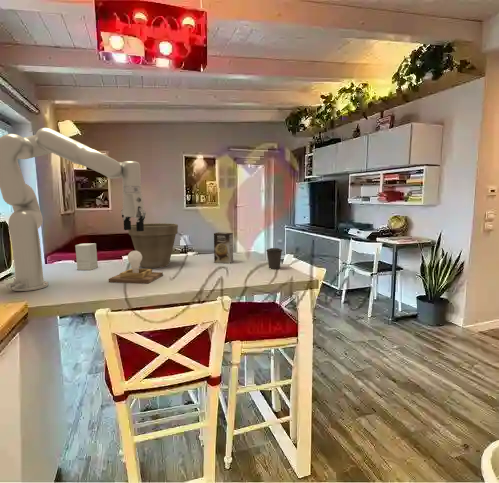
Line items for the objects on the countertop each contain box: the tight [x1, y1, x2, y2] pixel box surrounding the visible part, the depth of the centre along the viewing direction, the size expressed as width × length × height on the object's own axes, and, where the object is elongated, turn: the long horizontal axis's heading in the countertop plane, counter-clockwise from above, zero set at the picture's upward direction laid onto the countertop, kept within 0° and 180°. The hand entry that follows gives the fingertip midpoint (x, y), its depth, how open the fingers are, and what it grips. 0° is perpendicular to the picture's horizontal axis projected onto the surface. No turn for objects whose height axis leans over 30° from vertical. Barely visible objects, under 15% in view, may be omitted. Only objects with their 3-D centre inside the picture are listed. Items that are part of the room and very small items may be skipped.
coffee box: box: [213, 232, 234, 264], centre depth 195 cm, size 9×6×16 cm
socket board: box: [108, 267, 164, 284], centre depth 159 cm, size 15×18×4 cm
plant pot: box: [127, 222, 179, 269], centre depth 188 cm, size 25×25×22 cm
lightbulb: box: [127, 250, 142, 273], centre depth 159 cm, size 6×6×11 cm
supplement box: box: [74, 242, 98, 271], centre depth 182 cm, size 7×7×13 cm
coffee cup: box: [266, 247, 283, 270], centre depth 178 cm, size 8×8×10 cm
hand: (133, 230), depth 156 cm, fingers open, 9 cm apart
